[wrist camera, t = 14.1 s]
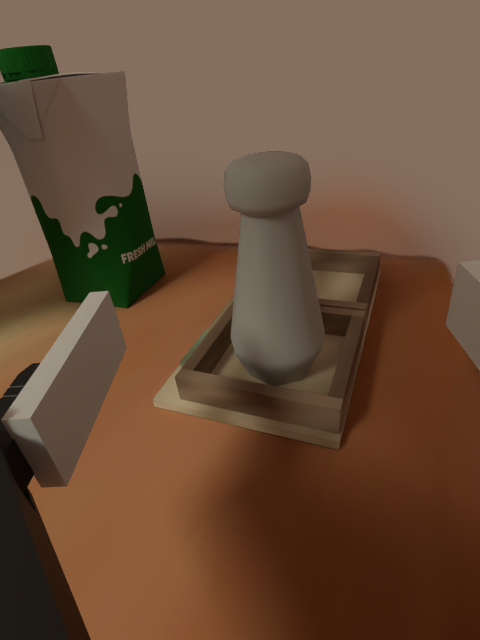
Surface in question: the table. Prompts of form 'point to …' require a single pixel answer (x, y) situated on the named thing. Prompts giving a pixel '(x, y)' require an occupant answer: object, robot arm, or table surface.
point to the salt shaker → (273, 268)
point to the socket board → (297, 397)
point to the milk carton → (80, 173)
